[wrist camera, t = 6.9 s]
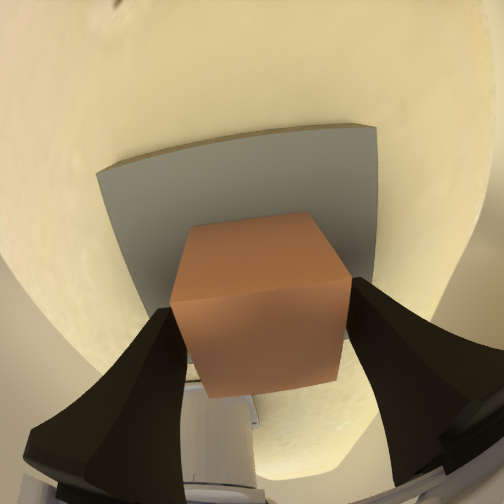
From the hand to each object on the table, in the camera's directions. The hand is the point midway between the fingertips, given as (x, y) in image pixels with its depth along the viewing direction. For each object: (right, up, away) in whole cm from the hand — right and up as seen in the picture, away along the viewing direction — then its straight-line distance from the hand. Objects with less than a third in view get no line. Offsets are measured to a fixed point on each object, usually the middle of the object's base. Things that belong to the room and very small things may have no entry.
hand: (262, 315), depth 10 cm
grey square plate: (0, +3, +5) cm, 6 cm away
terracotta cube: (0, +2, +3) cm, 3 cm away
